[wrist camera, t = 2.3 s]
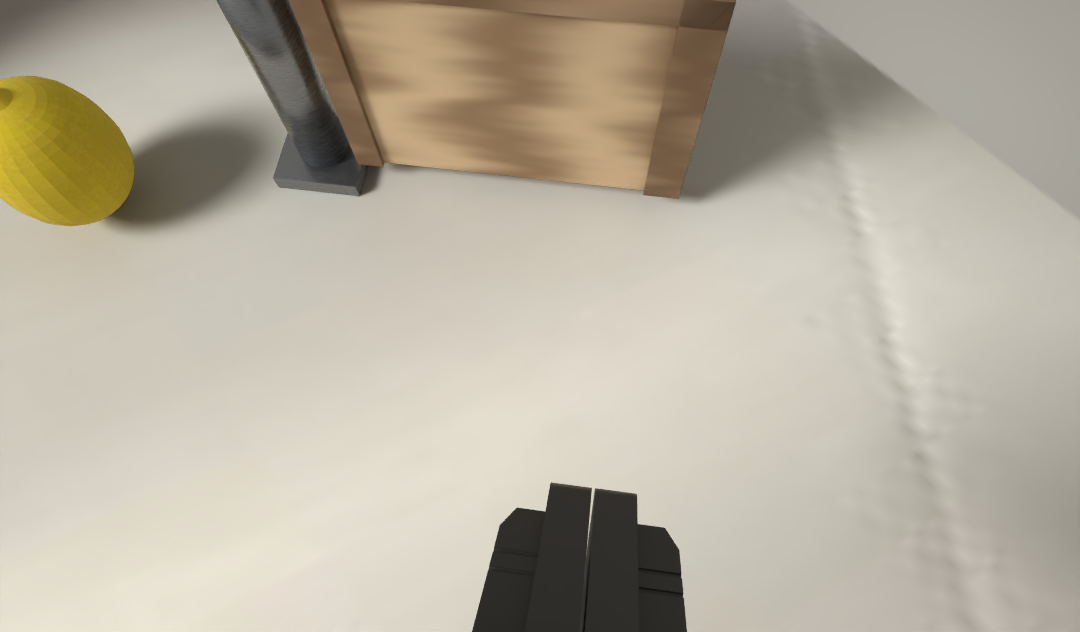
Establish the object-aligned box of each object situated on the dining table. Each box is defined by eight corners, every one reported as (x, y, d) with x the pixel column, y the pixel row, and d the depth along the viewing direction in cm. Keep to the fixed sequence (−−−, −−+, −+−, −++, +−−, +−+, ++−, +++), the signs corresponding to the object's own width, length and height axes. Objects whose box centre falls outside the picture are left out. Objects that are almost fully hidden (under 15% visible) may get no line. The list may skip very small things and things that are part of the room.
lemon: (142, 138, 37) (38, 16, 29) (182, 220, 35) (82, 111, 27) (34, 189, 36) (-102, 75, 28) (68, 276, 34) (-67, 178, 26)
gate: (358, 164, 34) (272, -39, 24) (367, 129, 35) (288, -82, 25) (678, 198, 33) (735, 2, 23) (681, 162, 34) (737, -45, 24)
